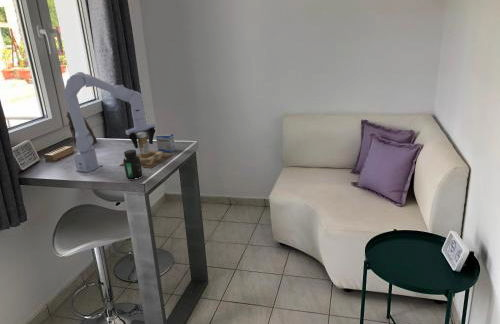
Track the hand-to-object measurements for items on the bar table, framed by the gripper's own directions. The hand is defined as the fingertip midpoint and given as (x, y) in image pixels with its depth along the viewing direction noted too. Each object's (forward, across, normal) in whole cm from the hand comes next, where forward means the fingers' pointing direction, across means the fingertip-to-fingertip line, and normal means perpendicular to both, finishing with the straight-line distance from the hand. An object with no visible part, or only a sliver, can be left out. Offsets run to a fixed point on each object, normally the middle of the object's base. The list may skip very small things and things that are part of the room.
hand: (143, 145), depth 189 cm
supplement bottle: (+8, +14, +16) cm, 23 cm away
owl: (+8, +9, -57) cm, 58 cm away
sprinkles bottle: (+7, 0, 0) cm, 7 cm away
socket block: (+8, 0, 0) cm, 8 cm away
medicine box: (+8, -14, -5) cm, 17 cm away
